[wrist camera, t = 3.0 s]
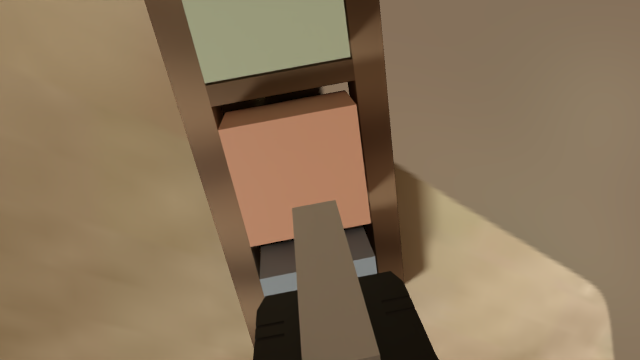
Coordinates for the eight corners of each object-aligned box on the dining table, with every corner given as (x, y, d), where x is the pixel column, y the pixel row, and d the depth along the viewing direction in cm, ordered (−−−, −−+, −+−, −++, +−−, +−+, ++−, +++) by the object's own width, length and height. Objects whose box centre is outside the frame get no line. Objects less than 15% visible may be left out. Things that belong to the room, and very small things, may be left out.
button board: (396, 290, 28) (407, 316, 26) (255, 319, 28) (253, 347, 25) (354, -125, 18) (366, -143, 16) (133, -88, 18) (112, -101, 15)
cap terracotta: (253, 216, 22) (250, 246, 20) (225, 112, 20) (217, 130, 17) (358, 196, 22) (370, 223, 20) (344, 90, 20) (356, 104, 17)
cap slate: (281, 324, 26) (282, 362, 23) (260, 246, 23) (259, 279, 20) (373, 305, 26) (385, 341, 23) (363, 226, 23) (374, 256, 21)
